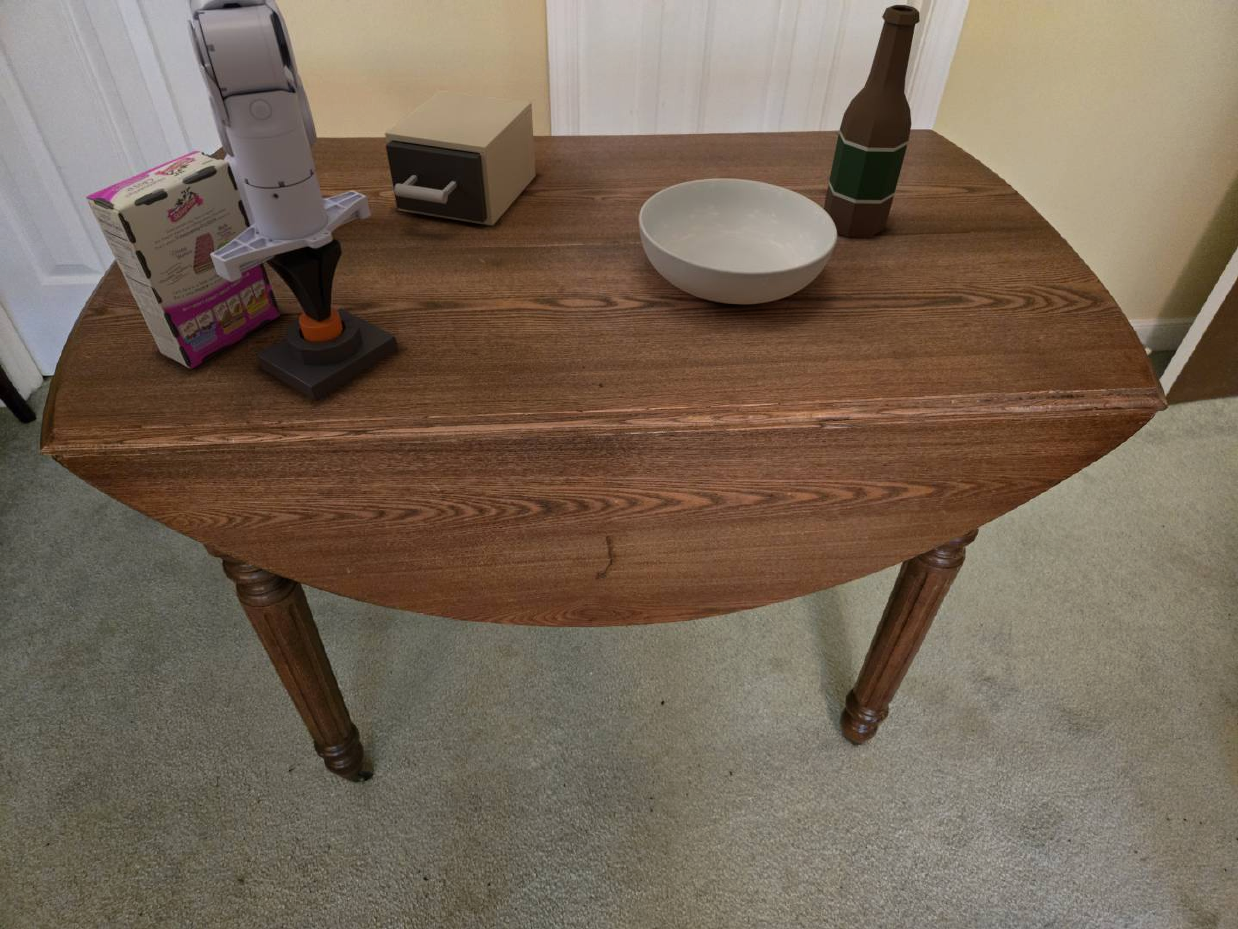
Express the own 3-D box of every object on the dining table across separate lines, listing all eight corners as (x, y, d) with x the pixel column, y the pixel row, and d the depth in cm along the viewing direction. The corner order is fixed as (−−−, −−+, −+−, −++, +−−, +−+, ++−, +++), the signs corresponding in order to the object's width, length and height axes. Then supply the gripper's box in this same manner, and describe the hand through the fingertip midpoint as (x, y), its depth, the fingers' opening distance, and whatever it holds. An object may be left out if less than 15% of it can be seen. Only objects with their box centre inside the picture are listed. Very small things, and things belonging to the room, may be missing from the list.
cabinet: (492, 225, 99) (485, 147, 92) (398, 210, 101) (384, 132, 94) (535, 175, 109) (531, 101, 102) (449, 162, 111) (439, 89, 105)
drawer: (468, 239, 94) (461, 173, 89) (380, 224, 97) (367, 159, 91) (524, 175, 107) (520, 115, 101) (444, 163, 109) (436, 103, 103)
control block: (315, 401, 74) (306, 370, 72) (261, 368, 78) (250, 338, 75) (398, 350, 80) (392, 320, 78) (344, 321, 83) (336, 292, 81)
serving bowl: (779, 354, 81) (790, 293, 76) (601, 291, 88) (601, 233, 84) (852, 263, 94) (866, 207, 89) (691, 215, 101) (696, 161, 97)
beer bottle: (814, 231, 99) (858, 13, 82) (827, 204, 104) (871, -7, 87) (879, 244, 97) (938, 23, 80) (889, 216, 102) (946, 2, 85)
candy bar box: (249, 302, 86) (196, 147, 74) (283, 316, 84) (233, 160, 73) (156, 355, 79) (81, 193, 67) (189, 372, 77) (118, 208, 66)
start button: (320, 348, 75) (315, 332, 74) (295, 334, 76) (290, 318, 75) (351, 330, 77) (347, 314, 76) (326, 317, 78) (321, 301, 77)
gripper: (229, 221, 60) (279, 369, 69) (381, 156, 69) (407, 296, 78) (174, 193, 63) (229, 339, 72) (326, 134, 71) (357, 272, 81)
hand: (318, 315), depth 75 cm, fingers closed
